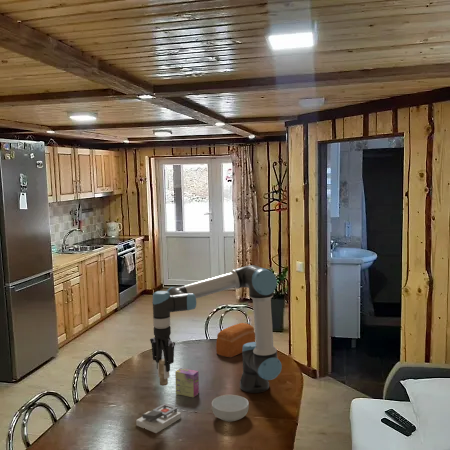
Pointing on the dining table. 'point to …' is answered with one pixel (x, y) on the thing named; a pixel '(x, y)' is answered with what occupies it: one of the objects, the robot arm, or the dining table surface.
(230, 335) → the bread
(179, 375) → the box
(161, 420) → the box
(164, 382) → the dowel
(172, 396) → the dining table surface
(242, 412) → the cereal bowl
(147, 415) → the rocker
